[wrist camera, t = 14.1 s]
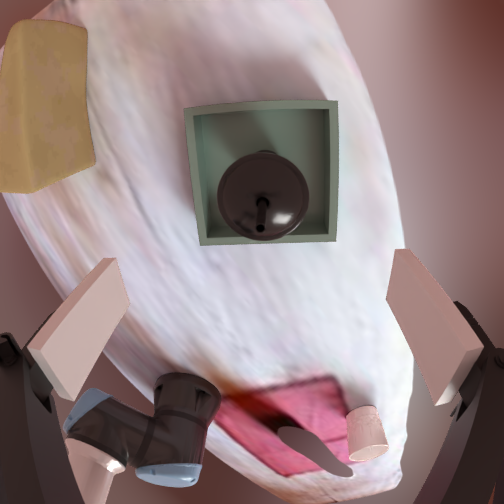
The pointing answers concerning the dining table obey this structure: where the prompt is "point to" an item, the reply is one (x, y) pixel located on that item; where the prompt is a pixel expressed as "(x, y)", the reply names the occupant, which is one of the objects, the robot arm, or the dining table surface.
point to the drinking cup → (263, 196)
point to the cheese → (43, 105)
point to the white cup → (365, 434)
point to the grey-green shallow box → (273, 139)
